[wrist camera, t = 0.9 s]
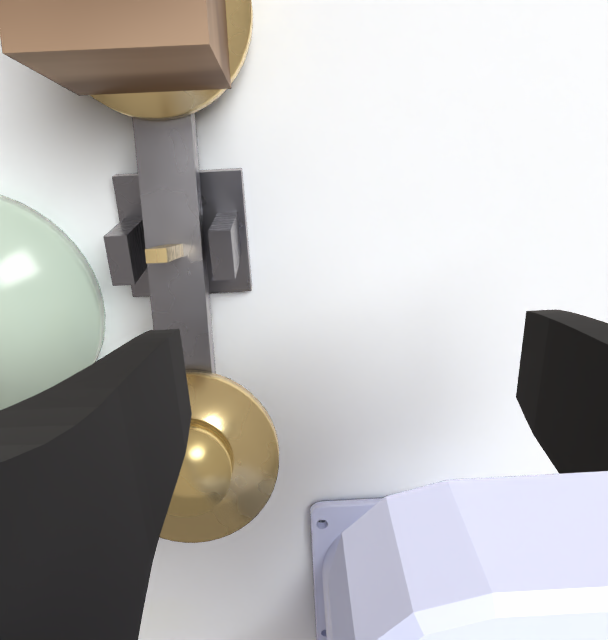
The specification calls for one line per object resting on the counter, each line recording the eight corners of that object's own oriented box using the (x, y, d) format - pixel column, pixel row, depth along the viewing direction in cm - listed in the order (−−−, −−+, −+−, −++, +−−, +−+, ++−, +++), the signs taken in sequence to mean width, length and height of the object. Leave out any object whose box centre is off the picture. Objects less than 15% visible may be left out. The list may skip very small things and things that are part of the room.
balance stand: (252, 286, 22) (246, 319, 19) (136, 292, 21) (112, 326, 19) (242, 168, 20) (234, 183, 17) (116, 174, 20) (86, 190, 17)
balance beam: (284, 516, 21) (282, 570, 18) (121, 525, 21) (91, 580, 18) (247, -87, 17) (238, -154, 14) (50, -79, 17) (-5, -144, 14)
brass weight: (237, 499, 19) (234, 514, 18) (149, 503, 19) (141, 519, 18) (230, 415, 19) (227, 426, 18) (140, 420, 19) (131, 431, 18)
